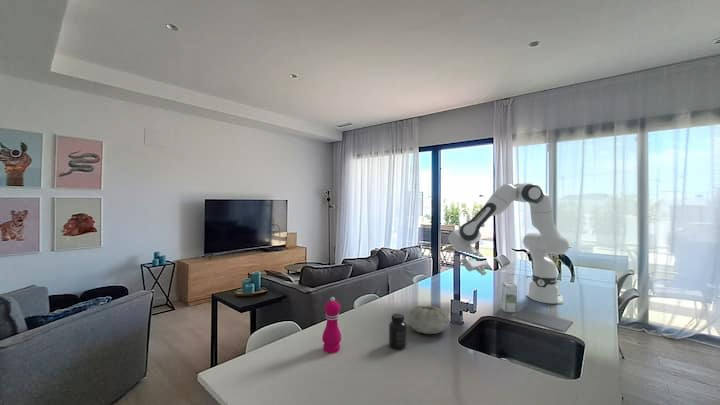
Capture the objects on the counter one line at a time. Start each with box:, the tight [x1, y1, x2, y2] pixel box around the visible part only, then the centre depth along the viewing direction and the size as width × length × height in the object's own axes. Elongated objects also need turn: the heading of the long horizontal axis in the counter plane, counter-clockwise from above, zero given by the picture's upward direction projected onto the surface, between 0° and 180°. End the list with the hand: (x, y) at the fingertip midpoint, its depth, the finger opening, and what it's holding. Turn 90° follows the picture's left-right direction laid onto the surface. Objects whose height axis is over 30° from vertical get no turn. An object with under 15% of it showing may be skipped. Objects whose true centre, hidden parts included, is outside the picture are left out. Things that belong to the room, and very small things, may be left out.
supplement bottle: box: [388, 312, 407, 351], centre depth 115 cm, size 7×7×12 cm
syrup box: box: [500, 281, 518, 314], centre depth 155 cm, size 6×6×14 cm
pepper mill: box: [321, 296, 342, 354], centre depth 112 cm, size 7×7×20 cm
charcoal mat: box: [511, 308, 574, 333], centre depth 144 cm, size 16×22×1 cm
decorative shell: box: [408, 305, 451, 335], centre depth 130 cm, size 18×18×10 cm
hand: (484, 274), depth 165 cm, fingers closed
